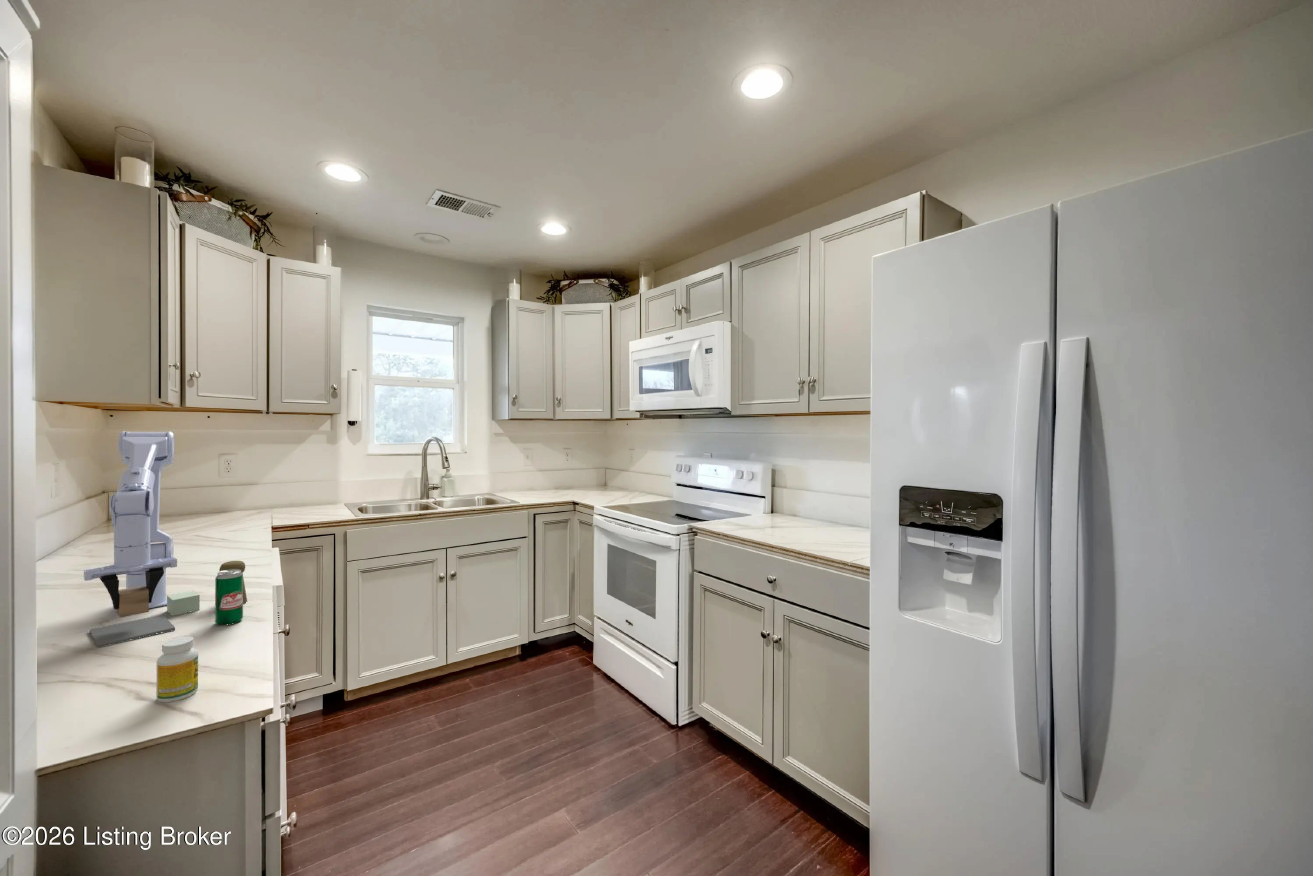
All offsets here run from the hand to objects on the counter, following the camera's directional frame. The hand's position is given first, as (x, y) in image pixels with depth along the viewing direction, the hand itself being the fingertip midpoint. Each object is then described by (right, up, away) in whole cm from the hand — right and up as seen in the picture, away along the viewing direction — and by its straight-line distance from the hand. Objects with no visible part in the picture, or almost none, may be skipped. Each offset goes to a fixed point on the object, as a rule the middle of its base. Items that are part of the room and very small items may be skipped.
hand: (132, 605), depth 116 cm
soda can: (+16, -6, +7) cm, 19 cm away
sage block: (-1, -6, +13) cm, 14 cm away
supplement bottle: (+33, -8, -25) cm, 42 cm away
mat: (0, -6, 0) cm, 6 cm away
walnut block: (0, -2, 0) cm, 2 cm away
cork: (+7, -6, +18) cm, 21 cm away
